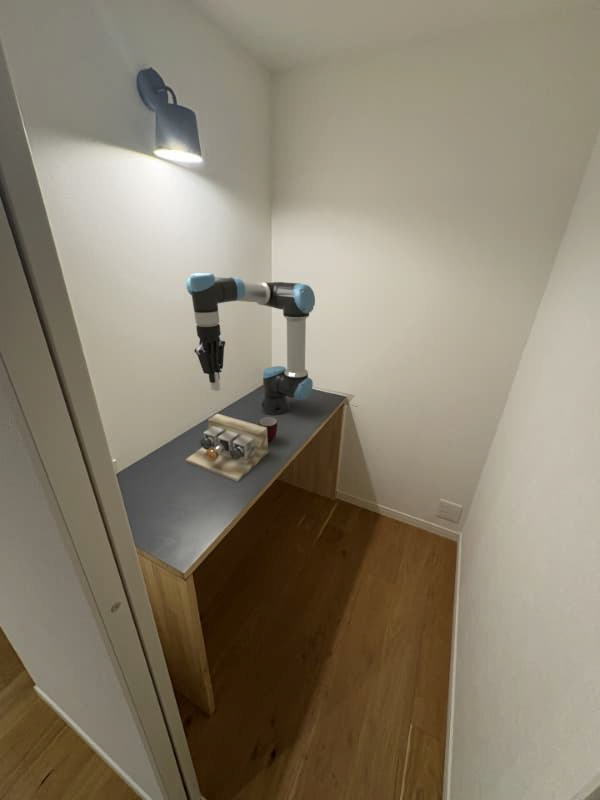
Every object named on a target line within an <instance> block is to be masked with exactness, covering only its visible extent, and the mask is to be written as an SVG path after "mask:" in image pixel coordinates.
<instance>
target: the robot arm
mask: <svg viewBox="0 0 600 800" xmlns="http://www.w3.org/2000/svg"><path fill="white" fill-rule="evenodd" d="M186 290H187V292H188V294H189V295H191V300H192V305H193V311H194V319H195V324H196V326H195V327H196V335H197V337H198V338H199V346H198V348H194V353H195V354H196V355H197V358H198V361H199V364H200V366H201V369H202V372H203V374H206V375H208V380H209V381H208V382H209V383H210V387H211V388H210V389H211V390H212V391H215V392H219V391H220V390H221V387H220V386H221V384H220V380H221V378H220V373H221V372H222V371H223V367H224V355H225V354H224V353H225V345H226V341H225V340H222V339H221V338H220V336H221V334H222V333H221V325H220V324H219V323H220V316H219V315H220V314H219V304H224V303H230V302H246V303H247V302H248V303H256V304H257V305H259V306H265V307H270V308H273V309H278V310H282V314H283V317H284V318H285V319H286V357H287V358H286V362H287V363H286V367H285V366H281V365H280V366H279V365H277V366H270V367H267V368H265V369H264V370H263V372H262V383H263V399H262V401H261V406H260V407H261V411H262V413H265V415H271V416H278V415H283V414H286V413H288V412H289V411H290V402H289V400H288V398H291V399H294V400H299V401H304V400H306V399H307V398H308V397H309V396H310V394H311V392H312V389H313V385H314V384H313V383H314V382H313V379H311V378H310V377H309V371H308V370H307V369H306V336H307V335H306V332H307V331H306V326H307V325H306V320H307V318H308V317H310V313H312V311H313V310H314V308H315V304H316V297H315V291H313V289H312V288H311V286H310V285H308V284H303V283H300V282H299V283H298V282H283V281H274V282H264V281H261V282H258V283H254V282H247V281H243V280H242V278H240V277H233V276H231V277H220V276H219V277H218V276H217V277H215V274H214V273H211V272H201V273H200V272H199V273H198V272H195V273H192V274H191V275H190V276H189V278H188V279H187V282H186Z"/></svg>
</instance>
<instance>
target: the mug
mask: <svg viewBox="0 0 600 800" xmlns="http://www.w3.org/2000/svg"><path fill="white" fill-rule="evenodd" d="M258 425H259V426H263V427H266V428H267V439H268V444H272V443H273V442H274V440H275V439H276V436H277V431H278V420H277V418H275V417H273V416H266V417H265V416H264V417H262V418H260V419H259V421H258Z"/></svg>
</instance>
